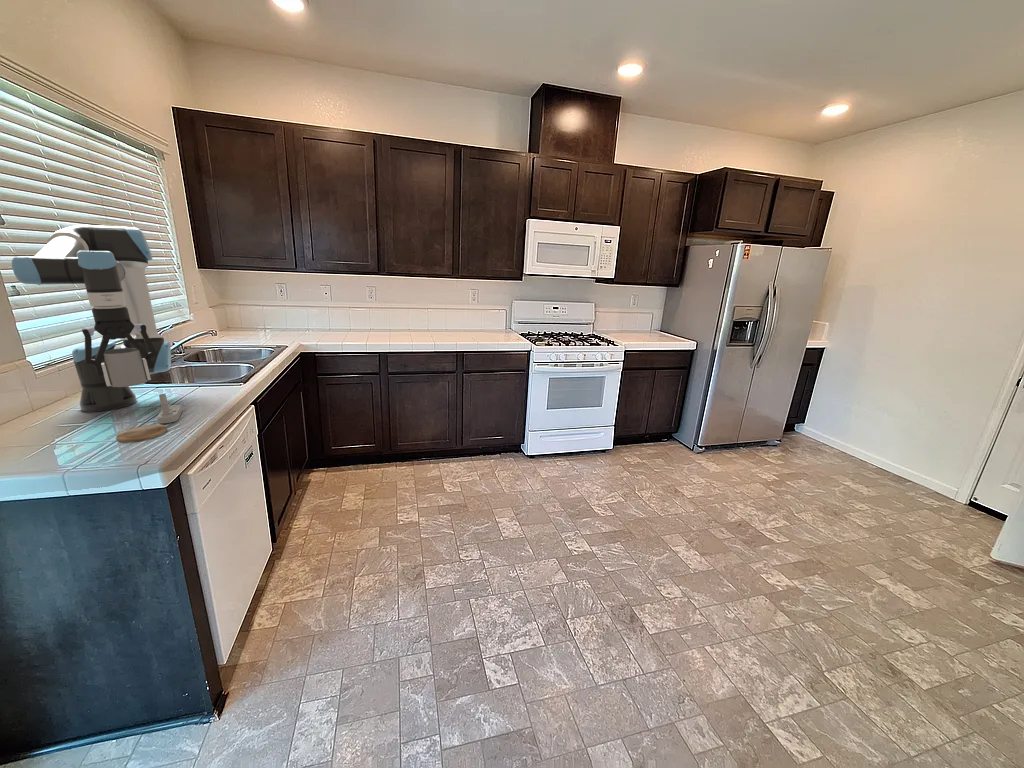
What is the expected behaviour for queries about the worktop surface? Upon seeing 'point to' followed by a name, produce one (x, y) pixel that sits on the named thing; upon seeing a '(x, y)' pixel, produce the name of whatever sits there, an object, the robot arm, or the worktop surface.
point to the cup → (124, 367)
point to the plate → (141, 433)
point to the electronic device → (168, 411)
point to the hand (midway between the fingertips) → (129, 382)
